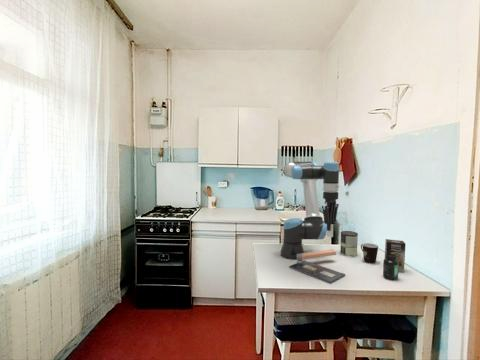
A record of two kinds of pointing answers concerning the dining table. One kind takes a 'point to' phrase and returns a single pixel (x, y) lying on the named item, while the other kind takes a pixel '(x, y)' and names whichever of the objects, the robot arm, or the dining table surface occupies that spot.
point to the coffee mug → (369, 252)
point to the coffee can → (349, 243)
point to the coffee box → (396, 251)
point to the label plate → (317, 271)
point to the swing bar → (315, 254)
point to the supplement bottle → (390, 267)
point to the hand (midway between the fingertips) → (329, 236)
